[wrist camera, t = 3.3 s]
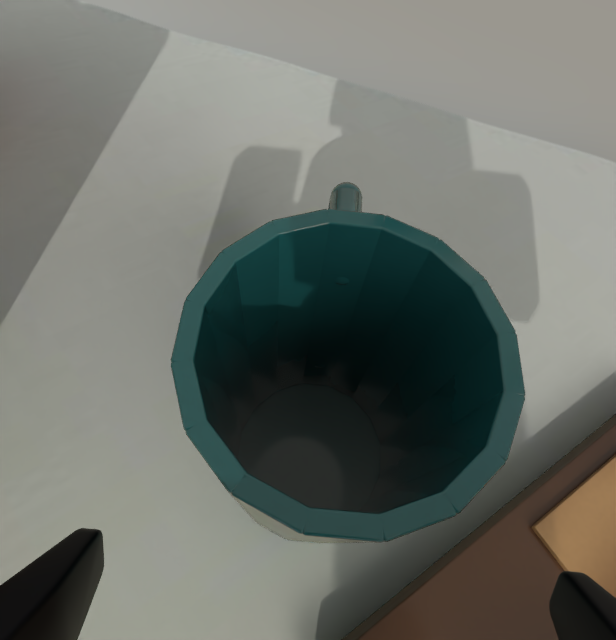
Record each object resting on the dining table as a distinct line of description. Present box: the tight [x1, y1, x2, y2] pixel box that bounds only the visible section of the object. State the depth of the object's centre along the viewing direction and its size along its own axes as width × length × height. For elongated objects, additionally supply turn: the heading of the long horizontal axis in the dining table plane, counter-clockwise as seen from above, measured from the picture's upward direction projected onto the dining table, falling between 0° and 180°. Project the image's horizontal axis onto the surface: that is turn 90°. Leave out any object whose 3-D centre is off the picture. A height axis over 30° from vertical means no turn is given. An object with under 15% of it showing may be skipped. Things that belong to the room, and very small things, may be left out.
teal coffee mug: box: [171, 182, 525, 543], centre depth 15 cm, size 10×7×12 cm
